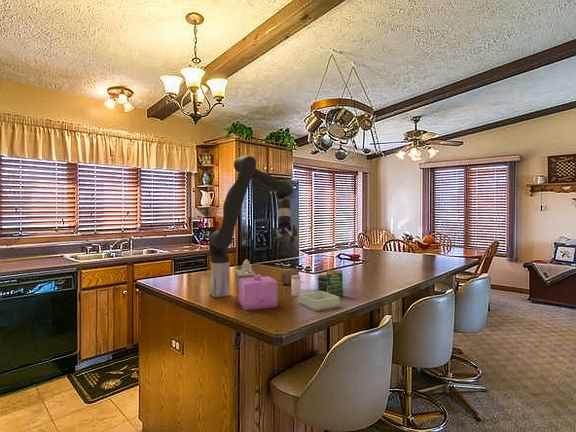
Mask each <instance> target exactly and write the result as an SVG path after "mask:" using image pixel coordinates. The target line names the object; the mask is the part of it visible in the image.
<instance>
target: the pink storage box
mask: <svg viewBox="0 0 576 432" xmlns="http://www.w3.org/2000/svg"><path fill="white" fill-rule="evenodd" d="M238 303H239V305H240V306H241V307H242V309H243V310H244V311H250V310H251V311H253V310H260V309H269V308H270V309H271V308H278V281H277V280H276V279H274V278H272V277H271V276H262V274H256V275H254V277H253V278H239V289H238Z"/></svg>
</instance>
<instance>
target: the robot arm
mask: <svg viewBox="0 0 576 432" xmlns="http://www.w3.org/2000/svg"><path fill="white" fill-rule="evenodd" d="M256 161H257V160H256V158H255V157H254V156H252V155H243V156H240V157H237V158H236V159H235V160H234V161H233V169H234V170H235V171H236V173H238V176H237V179H236V181H235V182H234V184H232V186H231V187H230V188H229V190H228V191H227V194H226V196H225V199H224V201H223V207H222V222H221V225H220V227H219V230H215V231H213V232H212V233H211V234H210V236H209V240H208V245H209V249H208V250H209V257H210V266H211V267H210V272H211V275H210V276H209V295H210V296H211V295H212V296H213V297H212V296H211V297H212V298H224V297H225V298H226V297H229V296H230V291H231V290H230V256H229V255H228V252H227V249H228V248H229V247H230V246H231V244H232V242H233V238H234V232H235V227H236V224H237V221H238V218H239V215H240V212H241V209H242V206H243V203H244V201H245V196H246V194H247V192H248V191H247V190H248V187H249V186H250V185H249V184H250V182H251V180H254V181H256V182H257V183H260V184H261V185H263V186H265V187H266V188H267V189H268V190H270V191H273V192H274V193H275V197H276V201H277V204H278V205H277V207H278V209H277V228H276V227H273V228H272V238H273V239H274V240H275V245H276V246H278V247H279V246H280V238H281V237H282V236H283V235H289V236H290V238H289V239H290V241H289V242H290V244H291V245H293V244H294V243H295V237H297V236H298V229H297V225H296V224H292V212H291V201H290V200H288V199H286V197H290V196H292V194H293V191H294V190H293V187H292V185H290V183H288V182H284V181H282V180H278V179H277V178H276V177H274V176H273V175H271V174H269V173H267V172H264V171H262V170H259V169H257V168H256V166H257V162H256ZM291 230H292V231H291Z"/></svg>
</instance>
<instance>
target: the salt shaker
mask: <svg viewBox="0 0 576 432" xmlns="http://www.w3.org/2000/svg"><path fill="white" fill-rule="evenodd" d="M290 285H291V296H292V297H298V294H301V275H299V274H298V275H292V276H291V284H290Z"/></svg>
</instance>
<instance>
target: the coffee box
mask: <svg viewBox="0 0 576 432" xmlns="http://www.w3.org/2000/svg"><path fill="white" fill-rule="evenodd" d="M326 275H327V292H326V293H329V294H332V295H335V296H338V297H340V298H341V297H344V293H343V292H344V287H343V286H344V285H343V282H344V281H343V277H344V276H343V270H341V269H339V270H326Z"/></svg>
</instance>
